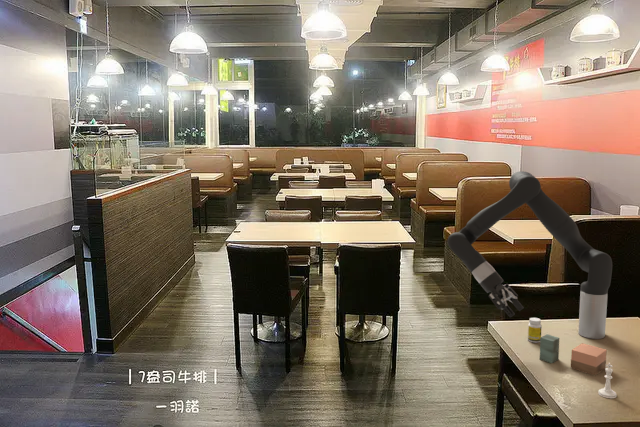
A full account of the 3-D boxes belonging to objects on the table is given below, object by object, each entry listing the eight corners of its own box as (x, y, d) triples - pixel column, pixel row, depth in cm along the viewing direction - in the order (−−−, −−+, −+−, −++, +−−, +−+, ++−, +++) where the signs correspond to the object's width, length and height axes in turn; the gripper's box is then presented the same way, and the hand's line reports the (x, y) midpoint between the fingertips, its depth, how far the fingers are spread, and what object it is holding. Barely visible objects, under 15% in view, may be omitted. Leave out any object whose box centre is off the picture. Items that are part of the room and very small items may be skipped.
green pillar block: (546, 355, 193) (546, 334, 191) (558, 359, 189) (559, 337, 188) (539, 359, 190) (540, 337, 188) (552, 363, 186) (553, 341, 185)
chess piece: (616, 399, 161) (618, 368, 159) (597, 396, 164) (599, 364, 162) (617, 392, 165) (619, 361, 163) (599, 389, 168) (600, 358, 166)
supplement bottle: (542, 343, 203) (542, 321, 202) (528, 342, 204) (529, 321, 203) (539, 338, 208) (540, 317, 207) (526, 337, 209) (527, 316, 208)
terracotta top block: (581, 352, 187) (582, 343, 186) (606, 359, 181) (606, 349, 180) (571, 359, 182) (571, 349, 181) (596, 367, 176) (596, 356, 175)
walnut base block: (581, 362, 188) (581, 352, 187) (605, 369, 182) (606, 359, 181) (570, 369, 183) (570, 359, 182) (594, 376, 177) (595, 366, 176)
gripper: (486, 275, 192) (517, 312, 187) (502, 266, 203) (532, 301, 198) (471, 287, 197) (502, 324, 191) (488, 278, 207) (517, 313, 202)
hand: (517, 312), depth 194 cm, fingers open, 8 cm apart
